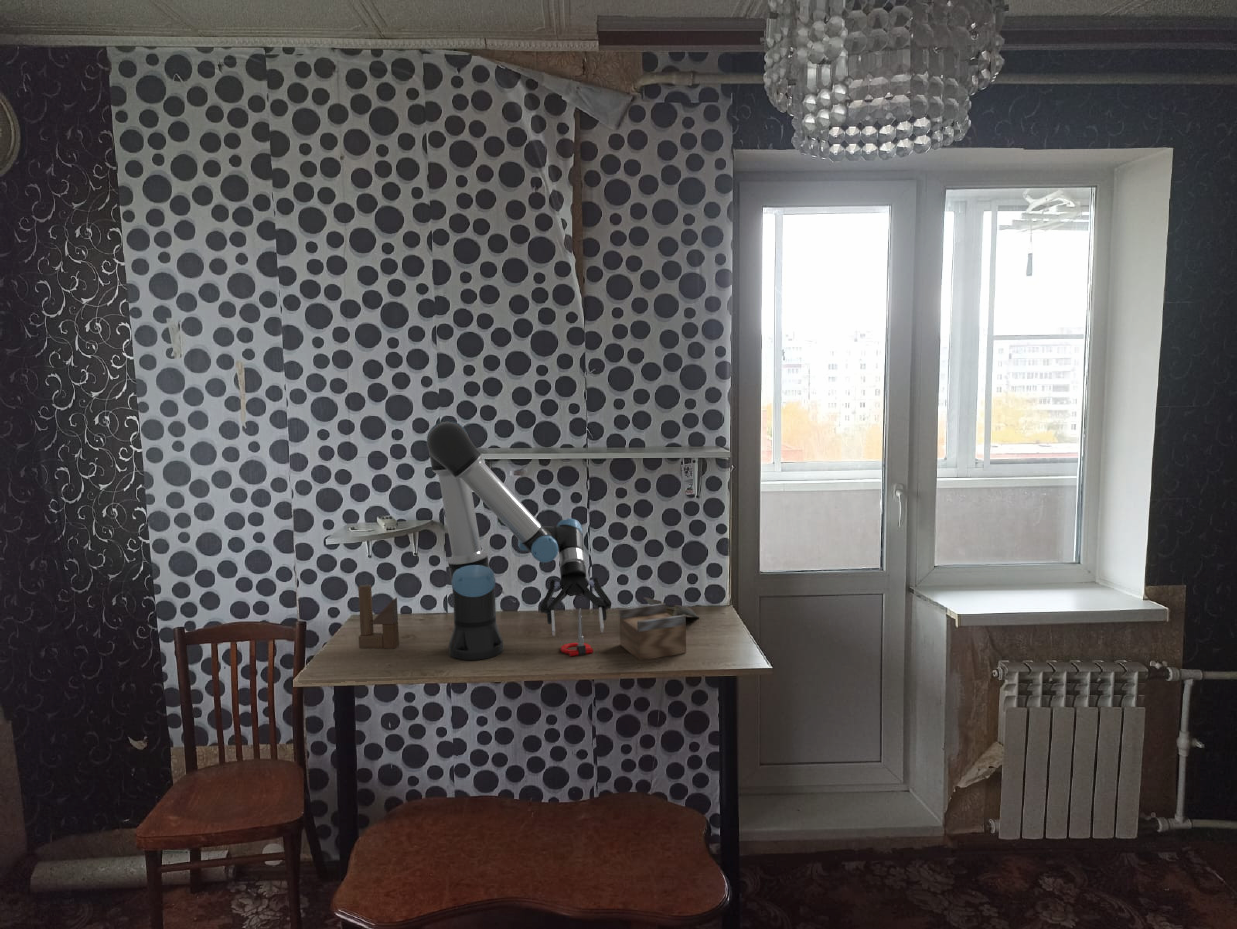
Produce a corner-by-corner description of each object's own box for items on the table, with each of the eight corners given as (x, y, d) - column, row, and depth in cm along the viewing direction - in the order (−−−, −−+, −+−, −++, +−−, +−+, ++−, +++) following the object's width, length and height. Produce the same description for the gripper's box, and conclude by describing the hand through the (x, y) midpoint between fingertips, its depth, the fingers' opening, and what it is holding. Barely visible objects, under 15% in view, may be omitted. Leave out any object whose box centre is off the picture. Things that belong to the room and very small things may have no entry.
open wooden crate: (639, 660, 213) (639, 622, 212) (620, 644, 226) (619, 609, 224) (686, 653, 218) (685, 616, 217) (664, 638, 231) (664, 603, 230)
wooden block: (395, 649, 226) (392, 587, 224) (358, 648, 227) (355, 587, 225) (399, 644, 229) (396, 584, 228) (363, 644, 230) (360, 584, 228)
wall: (642, 630, 251) (634, 610, 239) (651, 606, 256) (644, 585, 244) (692, 643, 246) (686, 623, 234) (699, 618, 250) (695, 597, 238)
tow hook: (556, 649, 224) (568, 658, 216) (554, 604, 224) (566, 611, 215) (583, 645, 228) (596, 653, 219) (582, 600, 227) (594, 607, 219)
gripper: (613, 571, 238) (621, 635, 224) (530, 575, 234) (533, 640, 221) (615, 557, 232) (623, 622, 219) (530, 562, 229) (533, 628, 215)
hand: (578, 632), depth 220 cm, fingers open, 13 cm apart
